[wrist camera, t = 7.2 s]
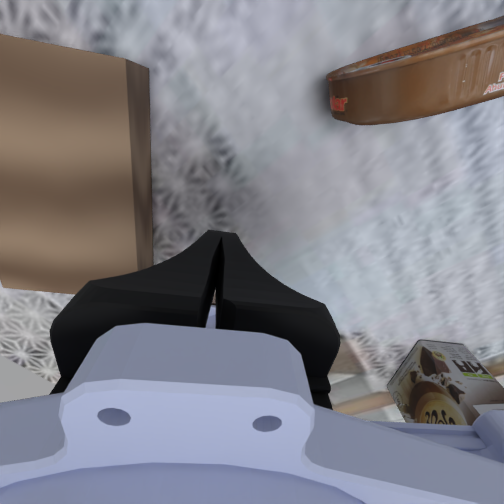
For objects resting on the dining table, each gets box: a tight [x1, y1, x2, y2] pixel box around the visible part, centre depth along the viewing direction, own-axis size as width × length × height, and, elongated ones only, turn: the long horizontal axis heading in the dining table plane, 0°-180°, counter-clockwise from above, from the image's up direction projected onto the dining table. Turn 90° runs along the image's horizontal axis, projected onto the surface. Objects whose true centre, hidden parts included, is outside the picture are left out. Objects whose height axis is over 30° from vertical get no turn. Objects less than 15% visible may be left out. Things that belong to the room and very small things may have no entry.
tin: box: [326, 16, 504, 125], centre depth 14 cm, size 15×3×8 cm, turn 105°
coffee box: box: [387, 340, 504, 426], centre depth 26 cm, size 9×6×16 cm
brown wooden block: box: [0, 34, 153, 294], centre depth 18 cm, size 16×10×4 cm, turn 171°
